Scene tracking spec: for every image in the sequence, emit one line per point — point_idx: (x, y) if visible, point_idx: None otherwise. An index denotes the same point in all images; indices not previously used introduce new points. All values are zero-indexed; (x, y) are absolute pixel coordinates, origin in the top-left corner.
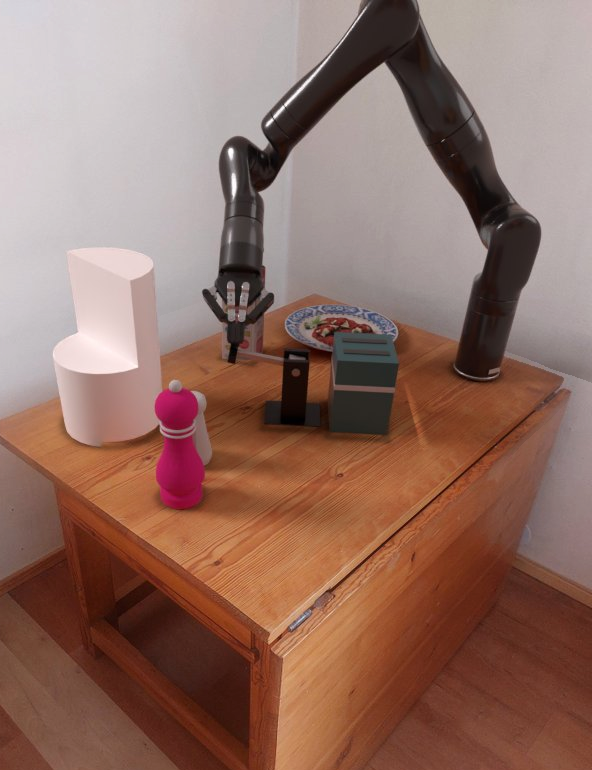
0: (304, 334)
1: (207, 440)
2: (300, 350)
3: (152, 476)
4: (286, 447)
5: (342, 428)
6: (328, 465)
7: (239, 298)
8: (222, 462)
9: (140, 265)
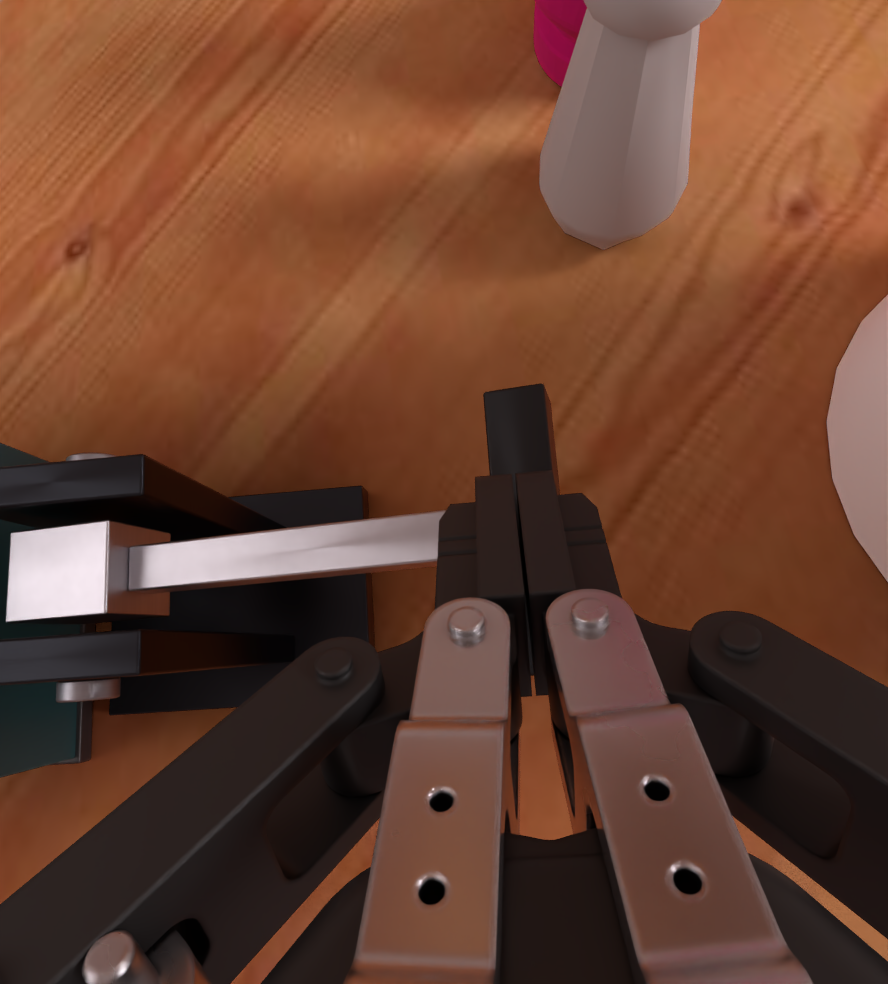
0: None
1: (557, 109)
2: (15, 655)
3: (740, 114)
4: (267, 378)
5: None
6: (112, 296)
7: (528, 890)
8: (503, 239)
9: None
